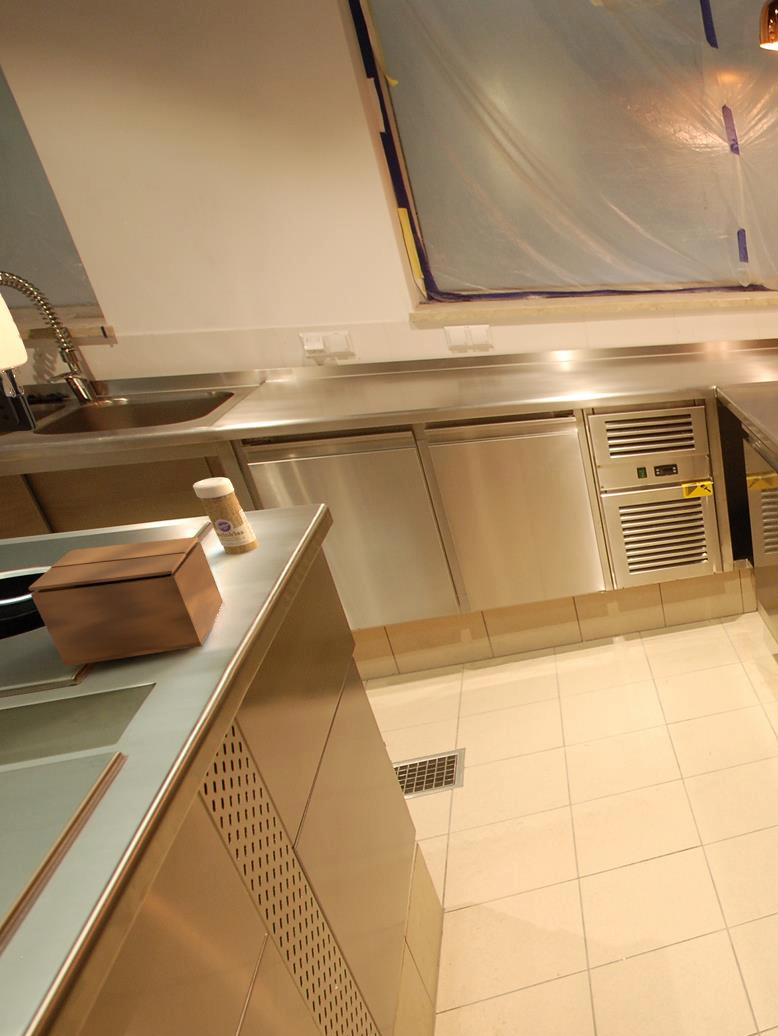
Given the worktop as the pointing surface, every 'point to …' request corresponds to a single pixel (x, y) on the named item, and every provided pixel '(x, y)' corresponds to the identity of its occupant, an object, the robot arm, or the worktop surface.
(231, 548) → the sprinkles bottle
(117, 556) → the flap
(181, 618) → the brown wooden box
